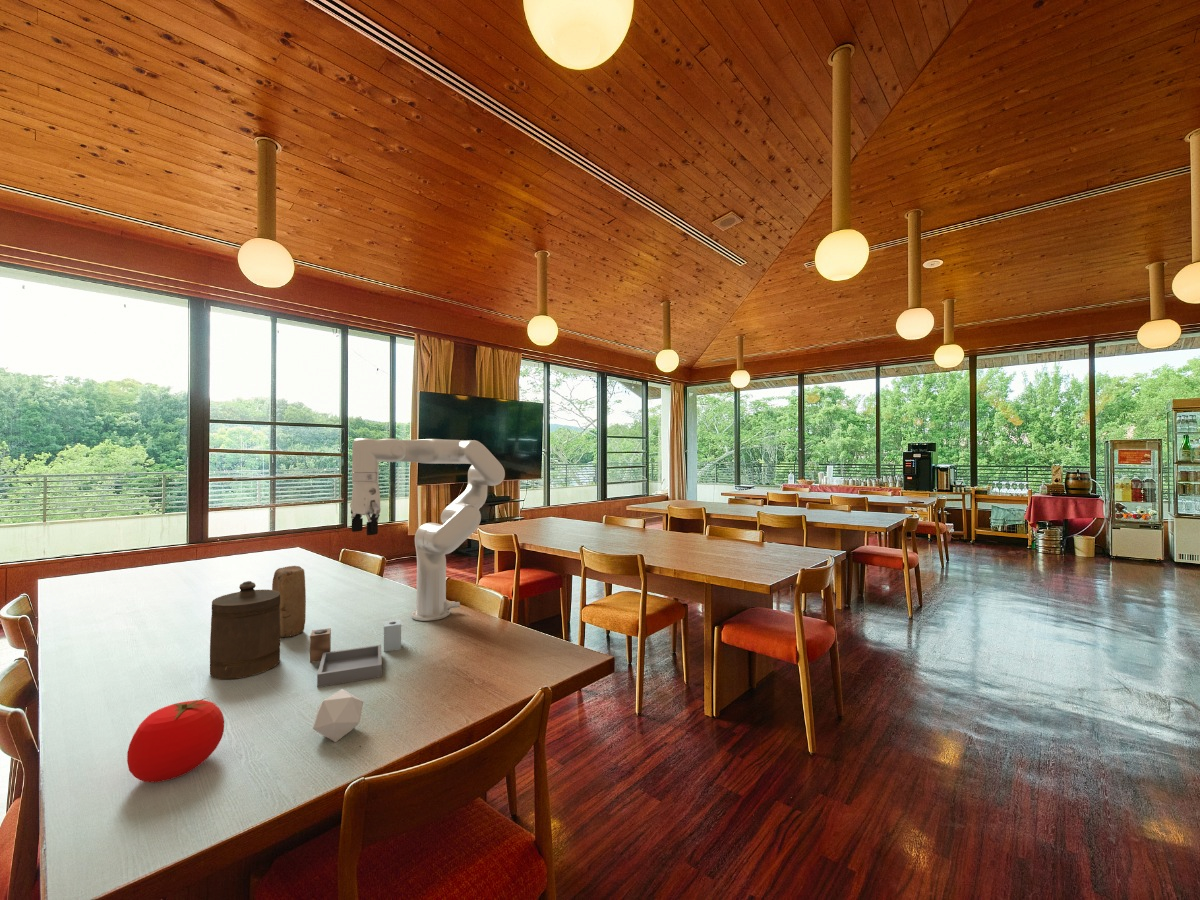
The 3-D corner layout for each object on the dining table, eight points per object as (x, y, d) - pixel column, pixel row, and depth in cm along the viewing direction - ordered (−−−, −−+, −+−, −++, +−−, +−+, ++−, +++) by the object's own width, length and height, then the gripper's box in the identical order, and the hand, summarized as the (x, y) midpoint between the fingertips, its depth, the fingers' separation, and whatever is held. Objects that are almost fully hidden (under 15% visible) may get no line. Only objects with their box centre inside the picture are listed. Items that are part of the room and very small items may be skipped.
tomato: (107, 785, 83) (108, 716, 83) (198, 740, 96) (199, 681, 96) (152, 804, 79) (153, 731, 79) (242, 755, 91) (242, 692, 92)
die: (338, 722, 104) (308, 695, 100) (376, 700, 105) (347, 673, 100) (330, 757, 97) (297, 730, 92) (370, 734, 97) (339, 706, 93)
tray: (381, 655, 136) (381, 644, 136) (381, 676, 124) (381, 664, 124) (322, 664, 131) (323, 652, 131) (317, 687, 118) (317, 674, 118)
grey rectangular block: (400, 643, 145) (400, 619, 145) (401, 649, 141) (401, 624, 141) (383, 646, 143) (383, 621, 143) (383, 651, 139) (384, 626, 139)
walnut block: (330, 653, 138) (330, 627, 138) (329, 659, 134) (329, 633, 134) (311, 656, 136) (312, 630, 136) (309, 662, 132) (310, 635, 132)
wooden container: (272, 650, 139) (273, 572, 139) (286, 667, 129) (287, 582, 129) (205, 666, 129) (206, 581, 129) (214, 686, 118) (215, 593, 118)
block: (307, 634, 152) (307, 568, 152) (278, 640, 146) (279, 572, 147) (296, 625, 159) (297, 563, 160) (269, 631, 154) (269, 566, 154)
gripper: (391, 478, 152) (390, 534, 152) (364, 476, 163) (363, 528, 163) (366, 479, 146) (365, 537, 146) (340, 477, 157) (339, 531, 157)
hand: (364, 533), depth 154 cm, fingers open, 9 cm apart
